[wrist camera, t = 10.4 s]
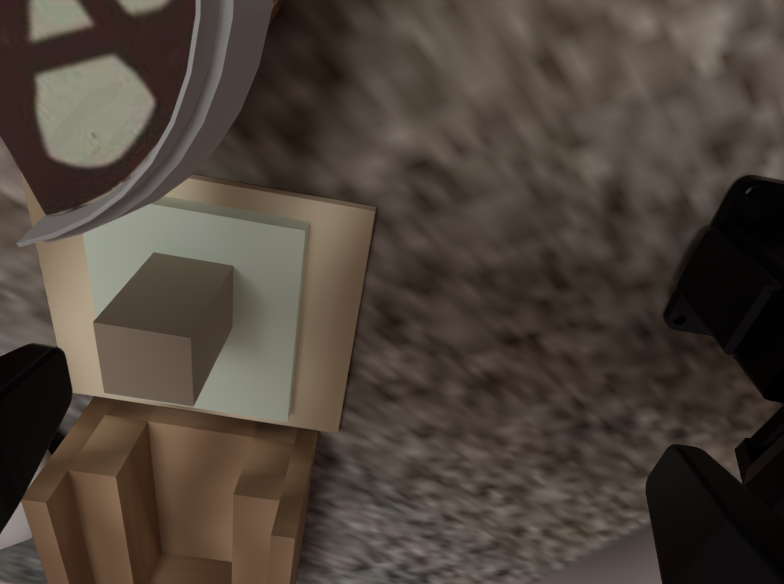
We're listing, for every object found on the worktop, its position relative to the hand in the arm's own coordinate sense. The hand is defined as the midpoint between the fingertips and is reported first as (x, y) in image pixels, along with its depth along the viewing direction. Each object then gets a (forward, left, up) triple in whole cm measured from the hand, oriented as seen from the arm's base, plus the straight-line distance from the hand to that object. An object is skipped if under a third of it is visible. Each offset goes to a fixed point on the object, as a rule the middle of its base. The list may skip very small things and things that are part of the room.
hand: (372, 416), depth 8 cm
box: (+7, +21, -13) cm, 26 cm away
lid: (+7, +8, -13) cm, 17 cm away
